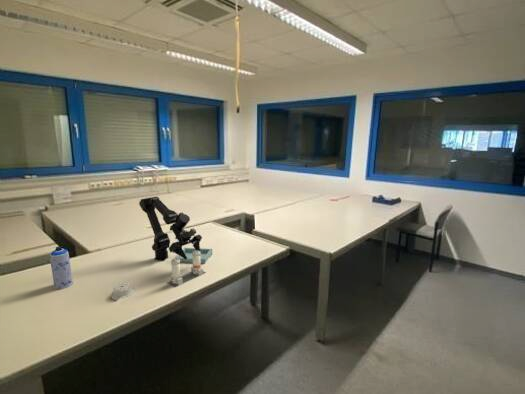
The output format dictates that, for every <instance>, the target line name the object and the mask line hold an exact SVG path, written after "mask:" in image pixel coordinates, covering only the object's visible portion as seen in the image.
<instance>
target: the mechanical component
mask: <svg viewBox="0 0 525 394" xmlns="http://www.w3.org/2000/svg"><path fill="white" fill-rule="evenodd" d="M112 290H113V291H112V292H111V294H110V299H112V300H114V301H118V300H120V299H123V298H127V297H130V296H132V295H133V294H134V293H135V289H134V287H132V284H131V283H129V282H125V283H124V282H122V283H118V284H117V285H115V286H113V288H112Z"/></svg>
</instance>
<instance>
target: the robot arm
mask: <svg viewBox="0 0 525 394" xmlns="http://www.w3.org/2000/svg"><path fill="white" fill-rule="evenodd" d="M138 204H139V207H140V208H141V210H142V212H144V213H145V214H146V215H147V218H148V219H147V220H148V221H149V224H150V226H151V228H152V231H153V234H154V236H153V237H154V238H153V244H152V246H151V249H152V251H154V256H155V258H154V261H166V260H167V258H169V252H170V253H173V254H176V255H180V256H181V257H183V258H184V259H187V257H186V255H185V253H184V251H183V247H184V246H187V245H189V244H192V248H195V249H196V251H200V248H201V245H200V244H201V243H200V242H202V239H203V237H202V235H201V234H197V230H196V229H195V227H193V228H191V229H189V230H185V227H186V226H187V225H188V224H189V222H190V221H191V218H190V216H189V215H187V214H185V213H184V212H182V211H181V212H179V213H178V212H176V211H174V210H173V209H169V207H167V205H165V204H164V202H162V200H161V199H160V197H159V196H151V197H146V198H141V199H140V200H139V202H138ZM155 210H157V211H158V212H159V213H160V215H161V216H162V220H163V221H164V223H165V224H167V225H170V227H169V231H172V232H173V234H174V239H175V240H177V241H175V242H172V243H171V240H170V238H169V234H168V233H167V232H164V231H163V229H162V226H161V223H160V221H159V218H158V216H157V213H156V211H155ZM195 234H196V235H195ZM200 253H201V251H200Z"/></svg>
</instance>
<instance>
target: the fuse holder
mask: <svg viewBox="0 0 525 394" xmlns="http://www.w3.org/2000/svg"><path fill="white" fill-rule="evenodd" d="M206 273H207V272H206V271H204V269H203V268H201V269H199V270H198V275H194V274H193V265H192V266H191V267H190V272H187V273H185V274H183V275H180V276H181V278H179V279H177V284H173V283H172V274H171V275H170V281H167V282H166V284H168V285H169V286H171V287H173V288H177V287H179V286H181V285H184V284H185V283H187V282H189V281H192V280H194V279H196V278H198V277H201V276H202V275H205V274H206Z"/></svg>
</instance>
